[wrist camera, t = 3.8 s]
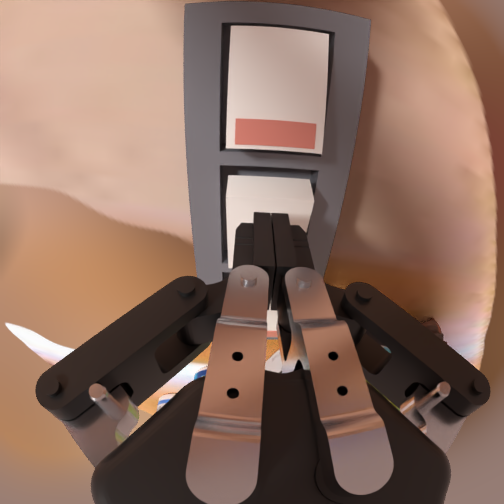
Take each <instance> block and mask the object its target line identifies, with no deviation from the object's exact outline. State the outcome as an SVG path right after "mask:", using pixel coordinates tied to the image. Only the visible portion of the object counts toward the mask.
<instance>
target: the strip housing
mask: <svg viewBox="0 0 504 504" xmlns="http://www.w3.org/2000/svg"><path fill="white" fill-rule="evenodd" d="M231 26H263V27H278V28H289V29H298V30H306V31H313V32H319V33H325V34H329V49H328V76H327V96H326V111H325V125H324V137H323V149H322V154H317V153H306V152H294V151H280V150H262V149H234V148H226V125H227V96H228V72H229V52H230V34H231ZM370 27H371V20H370V19H366V18H362V17H358V16H354V15H350V14H346V13H341V12H336V11H331V10H326V9H320V8H314V7H307V6H300V5H292V4H282V3H270V2H248V1H224V2H202V3H189V4H185V13H184V115H185V140H186V158H187V174H188V188H189V201H190V213H191V224H192V234H193V244H194V253H195V262H196V271H197V278H199V279H201V280H203V281H204V282H205V284H206V285H208V284H213V283H217V282H220V281H222V280H224V279H226V278H227V277H228V276H229V274H230V272H231V271H232V268H228V245H227V218H226V191H227V183H228V175H238V176H265V177H283V178H299V179H310V183H311V188H312V192H313V197H314V204H313V208H312V212H311V216H310V220H309V224H308V228H307V232H306V235H307V239H308V243H309V248H310V251H311V256H312V260H313V264H314V268H315V271H316V272H318V273H319V274H320V275H321V277H322V278H323V277H324V274H325V270H326V267H327V263H328V259H329V256H330V252H331V248H332V245H333V241H334V237H335V233H336V229H337V225H338V221H339V217H340V212H341V208H342V204H343V200H344V195H345V191H346V186H347V181H348V177H349V172H350V167H351V162H352V157H353V152H354V146H355V141H356V135H357V130H358V124H359V118H360V111H361V105H362V98H363V91H364V84H365V76H366V68H367V59H368V50H369V39H370ZM267 339H278V337H267Z"/></svg>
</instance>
